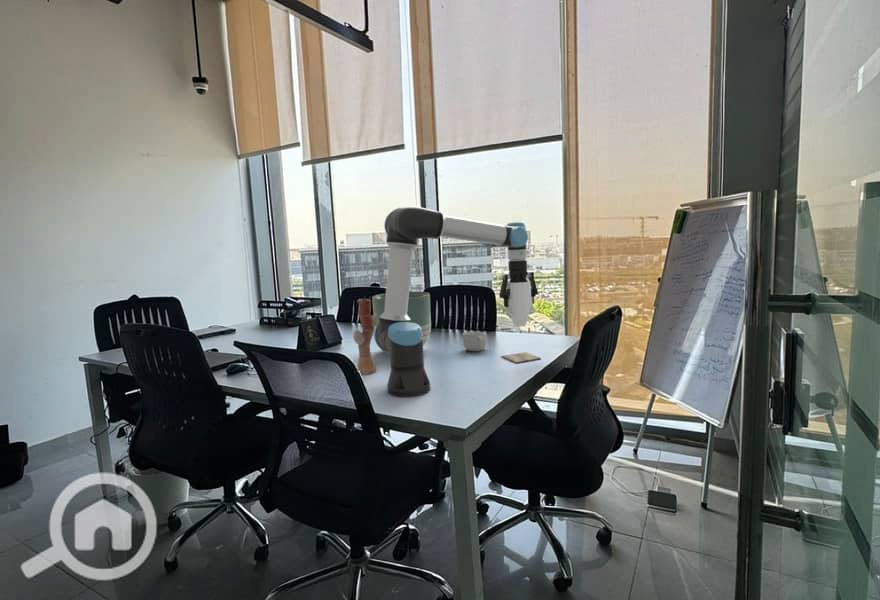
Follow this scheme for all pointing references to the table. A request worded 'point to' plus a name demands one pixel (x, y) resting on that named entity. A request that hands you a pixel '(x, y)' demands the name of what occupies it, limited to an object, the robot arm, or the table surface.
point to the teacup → (474, 341)
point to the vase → (365, 337)
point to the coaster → (520, 357)
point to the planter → (411, 310)
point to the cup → (520, 302)
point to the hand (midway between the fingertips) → (519, 313)
